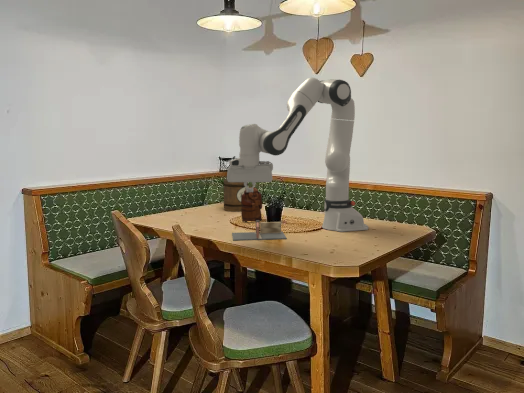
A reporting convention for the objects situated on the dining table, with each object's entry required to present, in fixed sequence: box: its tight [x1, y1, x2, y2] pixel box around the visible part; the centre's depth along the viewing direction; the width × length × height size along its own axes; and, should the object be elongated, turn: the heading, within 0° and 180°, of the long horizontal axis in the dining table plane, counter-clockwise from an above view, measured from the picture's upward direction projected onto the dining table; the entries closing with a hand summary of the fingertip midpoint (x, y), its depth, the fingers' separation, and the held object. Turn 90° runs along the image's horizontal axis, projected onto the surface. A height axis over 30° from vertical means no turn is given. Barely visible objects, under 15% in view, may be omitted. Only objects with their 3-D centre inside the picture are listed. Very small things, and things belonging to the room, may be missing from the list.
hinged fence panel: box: [255, 222, 259, 238], centre depth 217 cm, size 10×1×5 cm, turn 0°
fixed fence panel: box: [255, 220, 282, 233], centre depth 223 cm, size 12×2×6 cm, turn 96°
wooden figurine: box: [240, 186, 263, 222], centre depth 253 cm, size 12×6×18 cm, turn 134°
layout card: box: [231, 230, 287, 241], centre depth 219 cm, size 24×13×1 cm, turn 96°
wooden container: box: [223, 178, 249, 213], centre depth 285 cm, size 15×15×22 cm
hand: (249, 192), depth 213 cm, fingers closed
